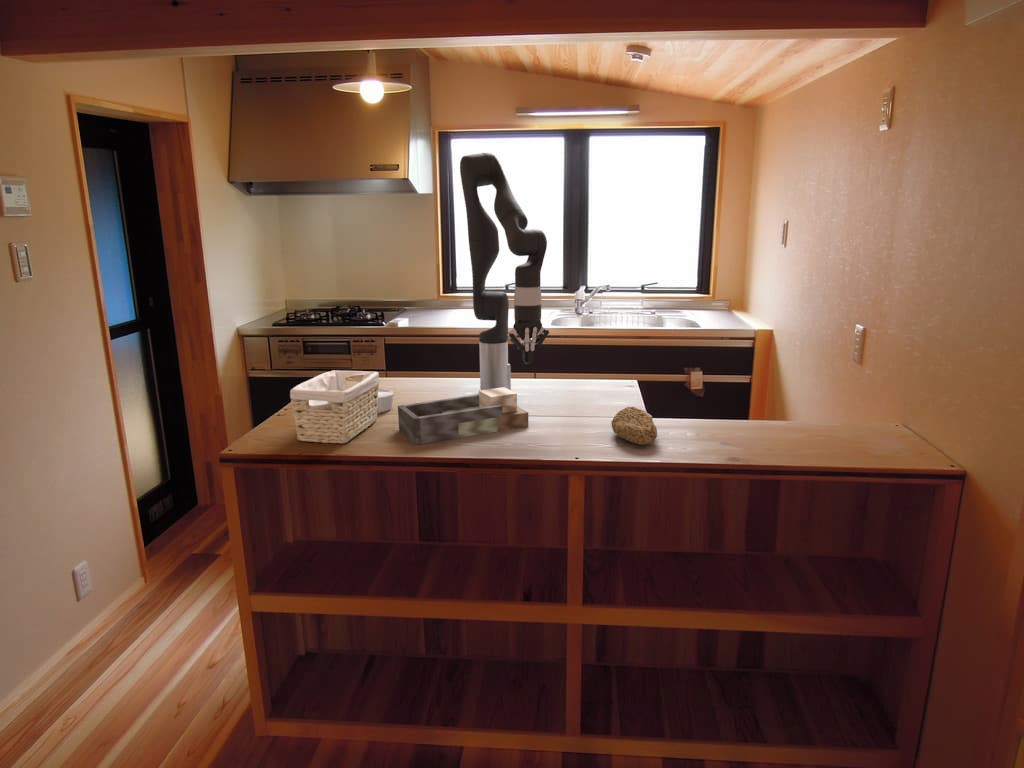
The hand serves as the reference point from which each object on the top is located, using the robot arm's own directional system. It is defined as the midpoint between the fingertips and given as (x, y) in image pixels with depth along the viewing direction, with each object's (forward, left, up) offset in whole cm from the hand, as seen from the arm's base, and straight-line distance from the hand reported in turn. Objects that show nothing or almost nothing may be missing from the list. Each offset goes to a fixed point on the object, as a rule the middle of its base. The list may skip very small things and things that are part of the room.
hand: (527, 363), depth 196 cm
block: (+10, 0, -12) cm, 16 cm away
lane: (+20, 0, -16) cm, 26 cm away
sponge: (-17, +29, -17) cm, 37 cm away
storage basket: (+51, -14, -17) cm, 56 cm away
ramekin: (+37, -30, -16) cm, 50 cm away
